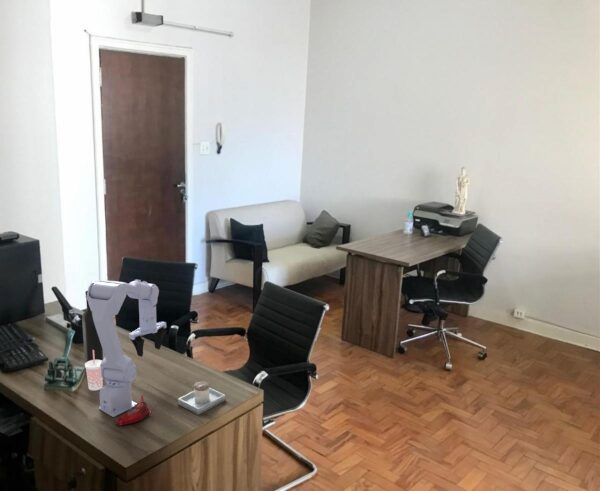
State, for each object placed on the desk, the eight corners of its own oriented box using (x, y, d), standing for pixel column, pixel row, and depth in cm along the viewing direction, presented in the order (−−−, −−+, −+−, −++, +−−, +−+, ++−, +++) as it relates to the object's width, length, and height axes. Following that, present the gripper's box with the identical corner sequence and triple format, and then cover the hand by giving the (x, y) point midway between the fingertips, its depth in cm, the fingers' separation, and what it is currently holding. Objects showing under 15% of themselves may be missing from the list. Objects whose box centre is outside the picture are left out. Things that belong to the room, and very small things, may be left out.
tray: (198, 414, 175) (198, 409, 174) (177, 404, 181) (177, 398, 180) (225, 400, 184) (225, 394, 184) (204, 390, 190) (204, 385, 190)
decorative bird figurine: (147, 428, 166) (114, 429, 166) (160, 398, 183) (130, 399, 183) (146, 420, 165) (113, 421, 165) (160, 391, 182) (130, 392, 182)
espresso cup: (201, 405, 179) (201, 390, 177) (191, 400, 182) (190, 385, 180) (212, 399, 183) (212, 384, 182) (202, 394, 186) (202, 379, 184)
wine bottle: (84, 366, 204) (79, 290, 196) (99, 362, 207) (95, 287, 200) (88, 372, 199) (83, 294, 192) (104, 368, 203) (100, 292, 195)
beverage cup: (98, 392, 186) (96, 354, 182) (82, 390, 187) (80, 352, 184) (108, 384, 192) (106, 347, 188) (92, 381, 193) (90, 345, 189)
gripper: (137, 325, 183) (139, 362, 186) (171, 313, 194) (172, 348, 197) (124, 319, 187) (126, 356, 190) (158, 308, 198) (159, 343, 202)
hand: (148, 352), depth 194 cm, fingers open, 7 cm apart
